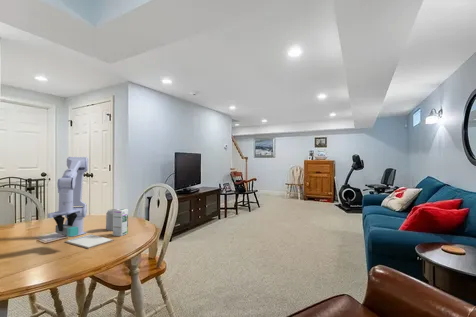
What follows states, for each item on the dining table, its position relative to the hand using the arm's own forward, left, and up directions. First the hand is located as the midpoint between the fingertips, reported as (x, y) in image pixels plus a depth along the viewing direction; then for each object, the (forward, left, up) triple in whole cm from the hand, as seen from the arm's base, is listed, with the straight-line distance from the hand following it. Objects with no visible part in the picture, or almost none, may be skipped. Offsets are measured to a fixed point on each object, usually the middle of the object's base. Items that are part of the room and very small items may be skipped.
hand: (65, 230), depth 121 cm
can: (-8, +32, -9) cm, 34 cm away
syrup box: (+5, +27, -9) cm, 29 cm away
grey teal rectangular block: (+1, 0, -2) cm, 2 cm away
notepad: (+2, +11, -8) cm, 14 cm away
